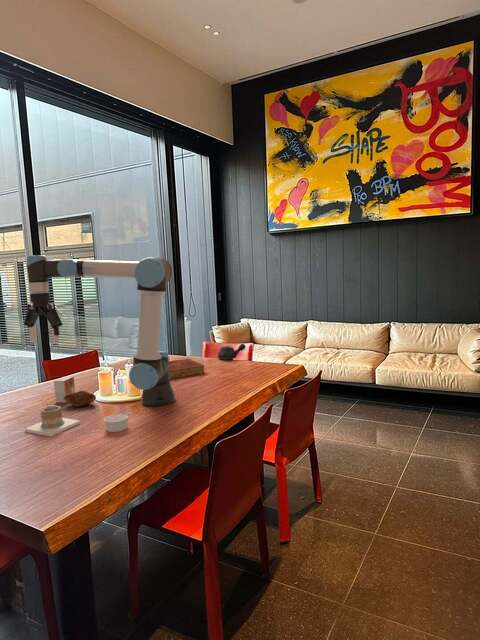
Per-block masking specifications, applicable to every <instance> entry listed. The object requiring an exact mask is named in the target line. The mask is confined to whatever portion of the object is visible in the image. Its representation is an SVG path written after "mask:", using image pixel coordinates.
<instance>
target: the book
mask: <svg viewBox="0 0 480 640" xmlns="http://www.w3.org/2000/svg"><path fill="white" fill-rule="evenodd" d="M204 367H205V365H204V364H202V363H200V362H197V361H196V360H194V359H191V358H184V359H182V358H181V359H177V360H169V372H170V380H172V379H177V378H179V379H180V378H184V377H190V376H195V375H202V374H205V368H204Z"/></svg>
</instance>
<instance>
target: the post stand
mask: <svg viewBox="0 0 480 640" xmlns="http://www.w3.org/2000/svg"><path fill="white" fill-rule="evenodd" d="M55 406H56V405H55V404H51V405H50V404H49V405H47V406H46V407H47V411H52V410H55ZM62 419H63V422H62V424H60V425H58V426H53V427H43V426H42V421H40V422H38V423H36V424H33V425H30V426H28V427H26V428H25V427H24V432H25V433H29V434H30V433H31V434H35V435H41V436H46V437H50V438H51V437H53V436H56V435H57V434H61V433H63V432H65V431H67V430H70V429H71V428H74V427H77V426H78V425H81V421H80V420H78V419H73V418H72V419H71V418H66V417H62Z"/></svg>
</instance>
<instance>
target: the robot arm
mask: <svg viewBox="0 0 480 640" xmlns="http://www.w3.org/2000/svg"><path fill="white" fill-rule="evenodd" d="M26 269H27V278H28V291H29V293H30V294H29V298H30V303H27V306H26V307H27V308H26V309H27V310H26V313H25V319H24V321H23V325H24V326H26V327H27V329H28V335H29V343H35V342H38V337H37V329H36V328H37V327H36V325H35V324H36V322H37V321H38V318H39V316H43V317H45V318H46V320H47V321H48V323H49V324H50V325H51V339H52V344H53V345H55V344H60V337H59V336H60V330H59V329H60V327H62V326H63V322H62V320H61V318H60V316H59V313H58V311H57V309H56V305H55V303H49V302H51V295H50V292H49V291H50V288H49V286H50V285H49V279H52V278H58V279H59V278H73V277H75V278H77V277H79V278H103V279H125V280H126V279H127V280H135V281H136V282H137V283H136V285H137V286H136V287H137V288H136V290H137V292H138V293H139V294H140V299H139V315H138V316H139V317H138V336H137V338H138V339H137V352H135V353H134V354H133V359H132V367H131V368H130V370H129V373H128V380H129V381H130V383H131V384H132V385H133V386H134V387H135V388H136V389H138V390H142V394H141V398H140V402H141V404H142V405H144V406H146V407H162V406H166V405H170V404H171V403H173V402H175V400H176V395H175V392H174V389H173V386H172V384H171V379H170V372H169V361H170V357H169V352H168V351H167V350H166V351H164V350H160V348H159V347H160V335H161V334H160V333H161V320H162V319H161V317H162V316H161V315H162V302H163V296H164V294H165V293H166V292H167V284H168V282H169V281H170V280H171V279H172V276H173V268H172V264H171V263H170V262H169V261H168V260H167V259H165V258H161V257H154V256H148V257H145V258H142V259H141V260H140V261H131V260H130V261H126V260H101V259H100V260H98V259H96V260H95V259H94V260H93V259H77V258H75V259H74V258H73V259H72V258H56V259H47V256H46V255H44V254H43V255H42V254H38V255H35V254H34V255H33V254H32V255H28V256H27V257H26Z"/></svg>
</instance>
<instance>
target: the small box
mask: <svg viewBox="0 0 480 640" xmlns="http://www.w3.org/2000/svg"><path fill="white" fill-rule="evenodd" d="M53 387H54V397H55V403H62V404H64V403H65V404H67V402H66V401H65V400H64V399H63V398H64V397H65V396H66V395H69V394H73V393H76V388H75V387H76V385H75V377H74V376H62V377H60V378H58V379H55V380H53Z"/></svg>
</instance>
